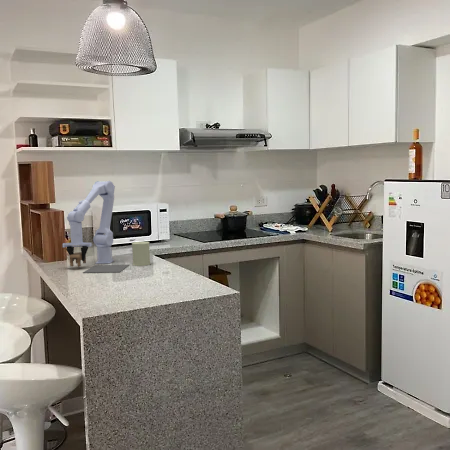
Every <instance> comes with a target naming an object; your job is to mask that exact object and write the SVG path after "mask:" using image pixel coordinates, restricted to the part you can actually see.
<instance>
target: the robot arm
mask: <svg viewBox="0 0 450 450" xmlns="http://www.w3.org/2000/svg"><path fill="white" fill-rule="evenodd" d="M91 187H92V188H91V190H90V191H89V192H88V194H87V196H86V197H85V198H84V199H82V200H79V201H78V204H77V205H76V206H75V207H74V208H73V210H71V211H69V213H68V214H67V216H66V220H67V221H68V224H69V228H70V242H66V243H65V242H63V243H62V248H65V250H66V252H67V253H68V256H69V255H72V254H74V253H75V251H74V250H75V248H80V251H81V252H82V260H81V261H82V262H83V261H85V256H86V257H87V252H88V250H89V248H90V247H93V244H94V245H95V247H96V255H97V257H96V258H97V261H96V262H95V264H96V265H99V264H100V265H105V264H112V262H114V261H115V259H113V248H111V247H112V245H113V243H114V232H113V231H112V230H111V222H112V215H113V209H114V201H115V187H116V186H115V184H114V183H113V182H112V181H111V180H105V181H104V180H103V181H99V180H96V181H95V182H94V183H93V184H92V186H91ZM98 196H99V197H101V198H102V199H103V202H102V206H101V207H102V209H101V216H100V222H99V227H98V228H97V230H95V234H94V235H93V238H92V239H93V240H92V241H93V243H92V242H85V241H83V238H84V237H83V223H82V222H83V221H84V219H85V216H86V213H88V211H89V209H90V208H91V204H92V202H93V201H95V199H96V198H97V197H98ZM73 262H75V260H73Z"/></svg>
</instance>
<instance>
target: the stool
mask: <svg viewBox="0 0 450 450" xmlns="http://www.w3.org/2000/svg"><path fill="white" fill-rule="evenodd" d="M68 256H69V266H70V267H74V261H75V264H77V267H81V265H82V264H86V263H87V255H86V256H85V261H82V252H78V251H77V252H74V254H72V255H69V254H68ZM73 260H74V261H73ZM81 261H82V264H81Z"/></svg>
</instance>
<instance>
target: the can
mask: <svg viewBox="0 0 450 450" xmlns="http://www.w3.org/2000/svg"><path fill="white" fill-rule="evenodd" d="M131 249H132V266H135V267H145V266H150V265H151V258H150V257H151V256H150V251H151V250H150V241H135V242H131Z"/></svg>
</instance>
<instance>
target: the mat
mask: <svg viewBox="0 0 450 450" xmlns="http://www.w3.org/2000/svg"><path fill="white" fill-rule="evenodd" d="M129 266H130V264H100V265H99V264H96V265H93V266H91V267H90V268H88V269H86V270H85V271H83V272H82V273H83V274H96V273H97V274H103V273H104V274H112V273H115V274H116V273H117V274H118V273H121V272H122V271H124V270H126V268H128V267H129Z"/></svg>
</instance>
